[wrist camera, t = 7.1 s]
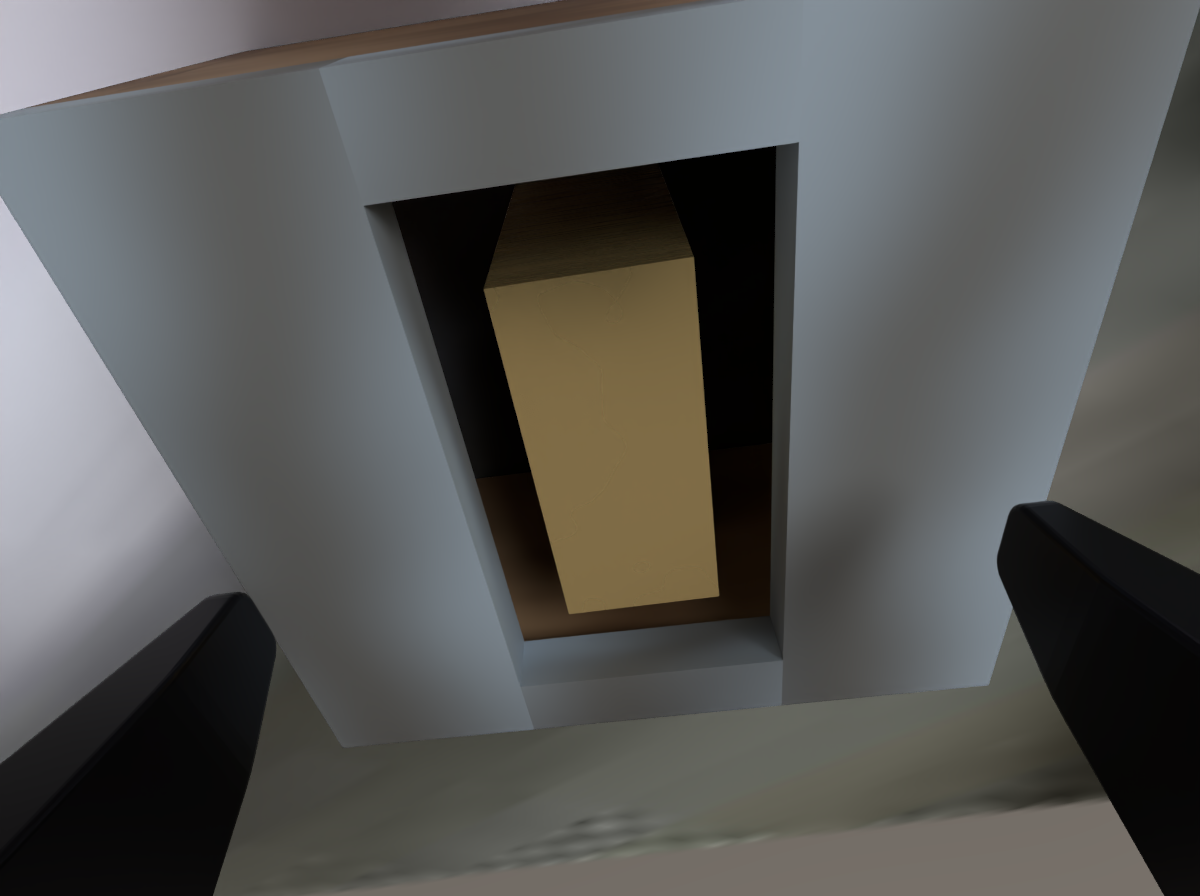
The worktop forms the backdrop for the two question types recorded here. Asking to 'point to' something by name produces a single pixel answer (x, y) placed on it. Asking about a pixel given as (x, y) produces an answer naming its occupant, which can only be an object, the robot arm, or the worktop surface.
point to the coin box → (738, 475)
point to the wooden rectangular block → (608, 384)
